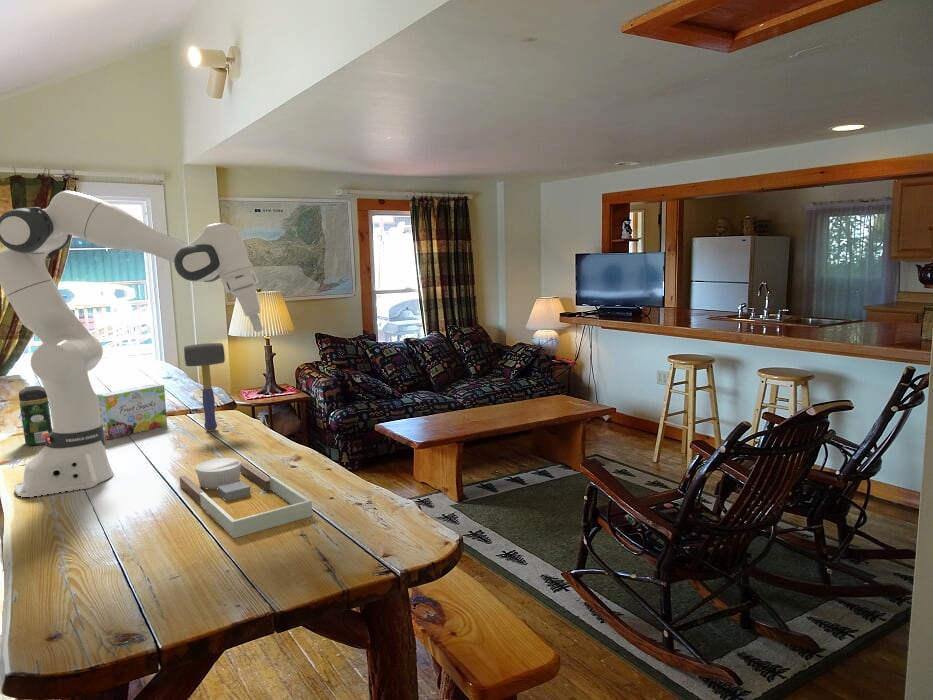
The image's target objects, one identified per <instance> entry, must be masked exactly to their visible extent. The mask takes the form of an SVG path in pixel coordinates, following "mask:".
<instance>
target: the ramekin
mask: <svg viewBox="0 0 933 700" xmlns="http://www.w3.org/2000/svg"><path fill="white" fill-rule="evenodd" d="M241 463H242V461H241V460H239V459H238V458H234V457H222V458H221V457H220V458H213V459H210V460H205V461H202V462H200V463H198V464H197V465H196V466H195V468H194V469H195V473H196V474H197V478H198V483H199V486H200V487H201V488H203V489H205V488H208V489H207V490H218V489H217V488H218V487H217V486H221V485H225V484H229V483H233V482H238V481H240V477H241V473H240V467H241Z"/></svg>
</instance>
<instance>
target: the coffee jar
mask: <svg viewBox="0 0 933 700" xmlns="http://www.w3.org/2000/svg"><path fill="white" fill-rule="evenodd" d="M18 399H19V409H20V416H21V422H22V429H23V436H24V437H23V438H24V442H25V444H26V445H27V446H41V445H40V444H42V445H44V444H46V443H45V440H43V439H42V437H41V436H42V434H43V432H49V433H51V432H52V431H53V424H52V417H51V409H50V404H49V400H48V397H47V394H46V392H45V389H44V386H40V385H33V386H31V385H30V386H25V387H24V388H22V389H21V390H19V392H18Z"/></svg>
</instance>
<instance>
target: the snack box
mask: <svg viewBox="0 0 933 700" xmlns="http://www.w3.org/2000/svg"><path fill="white" fill-rule="evenodd" d="M165 392H166V391H165V384H158V383H151V384H146V385H142V386H141V385H140V386H135V387H131V388H125V389H119V390H114V391H108V392H102V393H98V394H96V395H97V396H98V401H99V410H100V419H101V424H102V425H103V428H104V433H105V438H107V439H106V440H108V439H110V440H113V439H112V438H114V439H117V437H118V438H121V436H122V437H126V436H129V435H128V434H130V435H133V434H132V433H135V434H137V433H136V432H139V433H141V431H143V432H146V430H147V431H150V429H151V430H154V429H158V428H163V427H165V426H166V427H167V426H168V419H167V418H168V416H167V406H166V393H165ZM125 435H126V436H125Z"/></svg>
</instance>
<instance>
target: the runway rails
mask: <svg viewBox="0 0 933 700" xmlns="http://www.w3.org/2000/svg"><path fill="white" fill-rule="evenodd" d="M240 472H241V473H242V474H241V473H240V474H241V475H243V474H244V475H245V477H246V478H247V477H248V478H247V479H248V480H250V481H251V480H252V482H253V483H254V482H255V483H254V484H256V485H257V484H258V485H257V486H259V487H260V486H261V487H262V488H261V487H260V488H261V489H263V488H264V489H265V490H264V489H263V490H264V491H266V492H268V491H267V490H269V491H271V490H270V478H269V477H268V476H266V475H264V474H263V473H261V472H260V471H259V470H257V469H255V468H254V467H252V466H251V465H249V464H248V463H246V462H243V463H242V462H241V467H240ZM244 475H243V476H244ZM179 485H180V486H179V487H181V488H182V489H183V490H184V489H185V490H186V491H187V492H188V493H189V494H190V495H191V496H192V497H193V498H194V499H195V502H196V503H198V502H199V503H200V504H201V501H200V493H202V492H204V493H205V494H206V495H207V496H208V497H209V495H208V494H207V493H206V492H205V491H204V490H203V489H202V488H200V487H199V486H198V485H197V484H196V483H195V482H194V481H193V480H192V479H190V478H189V477H188V476H187V475H183V476H182V475H181V476H179ZM185 490H184V491H185ZM186 491H185V492H186ZM187 492H186V493H187ZM188 493H187V494H188ZM189 494H188V495H189ZM190 495H189V496H190ZM191 496H190V497H191ZM192 497H191V498H192ZM193 498H192V499H193ZM199 503H198V504H199ZM200 504H199V505H200Z"/></svg>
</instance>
